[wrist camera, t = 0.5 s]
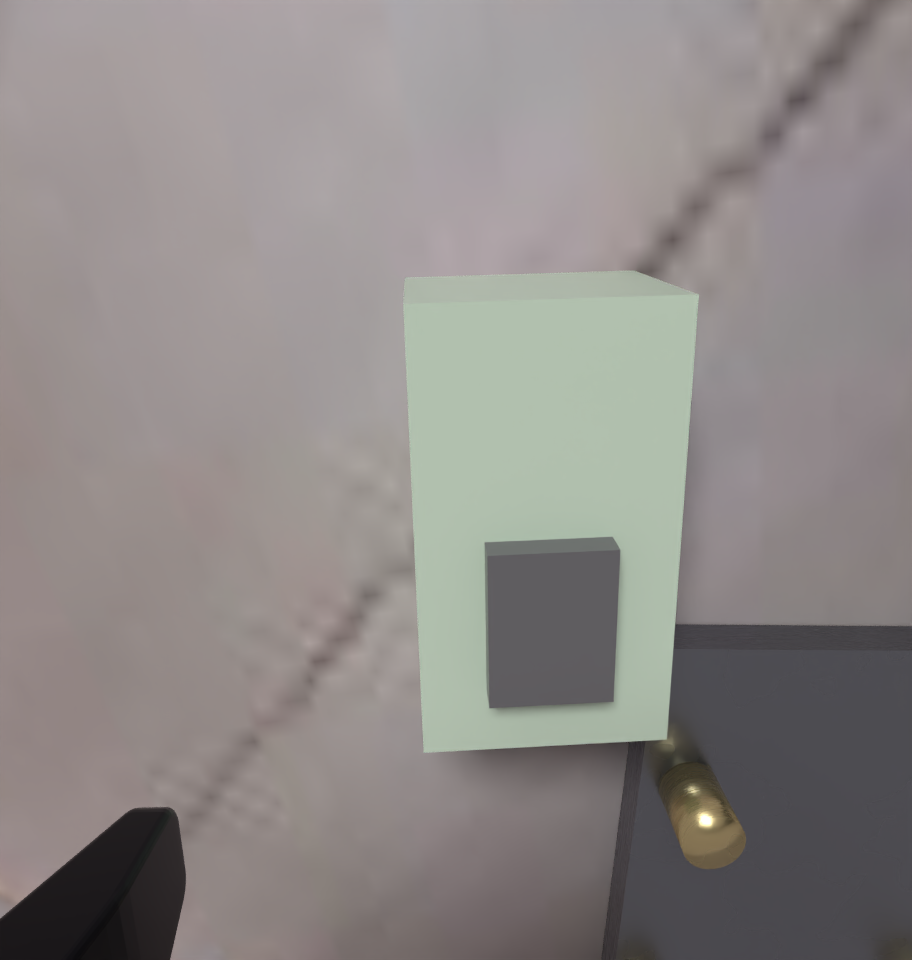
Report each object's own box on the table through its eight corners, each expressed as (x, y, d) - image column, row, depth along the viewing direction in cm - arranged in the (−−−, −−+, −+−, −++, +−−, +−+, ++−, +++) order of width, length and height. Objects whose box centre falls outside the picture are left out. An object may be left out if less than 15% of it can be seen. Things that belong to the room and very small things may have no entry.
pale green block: (631, 269, 18) (710, 299, 13) (615, 629, 21) (675, 758, 16) (404, 276, 18) (402, 308, 13) (421, 639, 21) (423, 772, 16)
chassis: (1057, 627, 22) (1163, 698, 19) (921, 1062, 27) (986, 1173, 24) (644, 624, 21) (684, 697, 18) (586, 1071, 26) (610, 1186, 23)
